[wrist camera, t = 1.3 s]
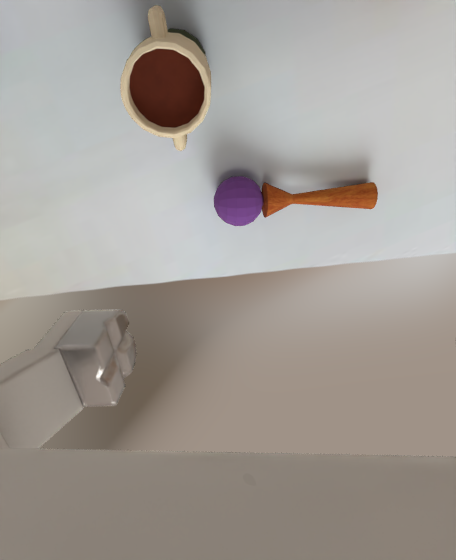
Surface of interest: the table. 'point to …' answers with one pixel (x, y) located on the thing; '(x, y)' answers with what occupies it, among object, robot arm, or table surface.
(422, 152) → the table surface
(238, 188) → the kendama
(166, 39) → the character mug
